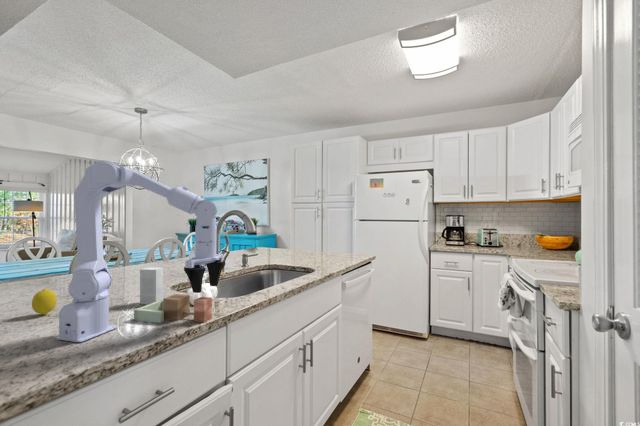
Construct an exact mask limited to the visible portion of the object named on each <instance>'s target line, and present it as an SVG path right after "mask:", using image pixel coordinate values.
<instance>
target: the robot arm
mask: <svg viewBox="0 0 640 426" xmlns="http://www.w3.org/2000/svg"><path fill="white" fill-rule="evenodd" d="M126 186H127V187H140V188H142V189H145V190H147V191H150V192H152V193H154V194H156V195H159V196H161V197H164V198H166V200H167V202H168V205H170V206H172V207H173V208H176V209H178V210H180V211H182V212H185V213H188V214H189V215H193V214H194V216H195V217H196V221H195V222H196V223H195V228H194V229H195V232H194V233H195V235H194V236H195V240H194V242H195V243H194V252H195V253H194V257H191V258H189V259H186V260H185V266H184V267H183V271H184V273H185V274H186V275H187V278H188V280H189V283H190V286H191V287H192V290H193V293H200V292H201V289H202V280H203V275H204V274H205V271H206V267H207V272H208V278H209V279H208V281H209V283H210V286H216V287H218V285H219V280H220V278H221V277H220V276H221V274H222V271H223V269H224V267H225V266H226V261H224V254H223V253H217V242H218V241H217V240H218V239H217V237H218V236H217V219H216V215H217V214H218V209H217V206H216V204H215V203H214V201H212V200H209V199H205V196H204V195H198V194H196V193H194V192H192V191H190V189H189V188H188V187H187V186H183V187H181V186H176V187H170V186H168V185H166V184H164V183H162V182H159V180H156V179H154V178H151V177H150V176H147V175H146V174H143V173H142V172H140V171H138V170H135V169H132V168H129V167H127V166H124V165H119V164H118V165H116V164H115V163H114V162H112V161H109V160H98V161H95V162H94V163H93V164H90V166H87V167H86V168H85V171H84V175H83V177H82V179H81V180H80V182H79V184H78V185H77V187H76V188H75V190H74V210H75V214H74V215H75V231H76V251H77V252H76V253H77V261H76V265H75V266H74V268H73V270H72V277H71V281H70V282H69V284H68V288H67V289H68V294H69V296H71V298H72V299H73V300H72V301H71V302H70V303H68V304H66V305H63V306H62V307H61V309H60V310H59V314H58V322H59V323H58V336H56V340H61V341H67V342H68V341H69V342H73V343H74V342H75V343H83V342H85V341H88V340H90V339H94V338H95V337H98V336H100V335H103V334H105V333H107V332H110V331H113V330H115V329H118V325H112V324H109V323H110V316H109V315H110V294H109V291H108V289H109V288H110V287H111V286H112V282H113V276H112V274H111V273H110V271H109V268H108V263H107V262H106V260H105V259H104V241H103V238H104V237H103V221H102V220H103V219H102V205H101V204H102V200H103V199H104V198H105V197H106V196H108V195H109V194H110V193H113V192H116V191H118V190H121V189H122V188H125V187H126ZM203 265H206V267H201V266H203Z"/></svg>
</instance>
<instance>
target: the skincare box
mask: <svg viewBox="0 0 640 426" xmlns="http://www.w3.org/2000/svg"><path fill="white" fill-rule="evenodd" d="M164 296H165V295H164V267H144V268H141V269H139V305H149V304H151V303H154V302H157V301H160V300H163V299H164V298H165V297H164Z"/></svg>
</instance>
